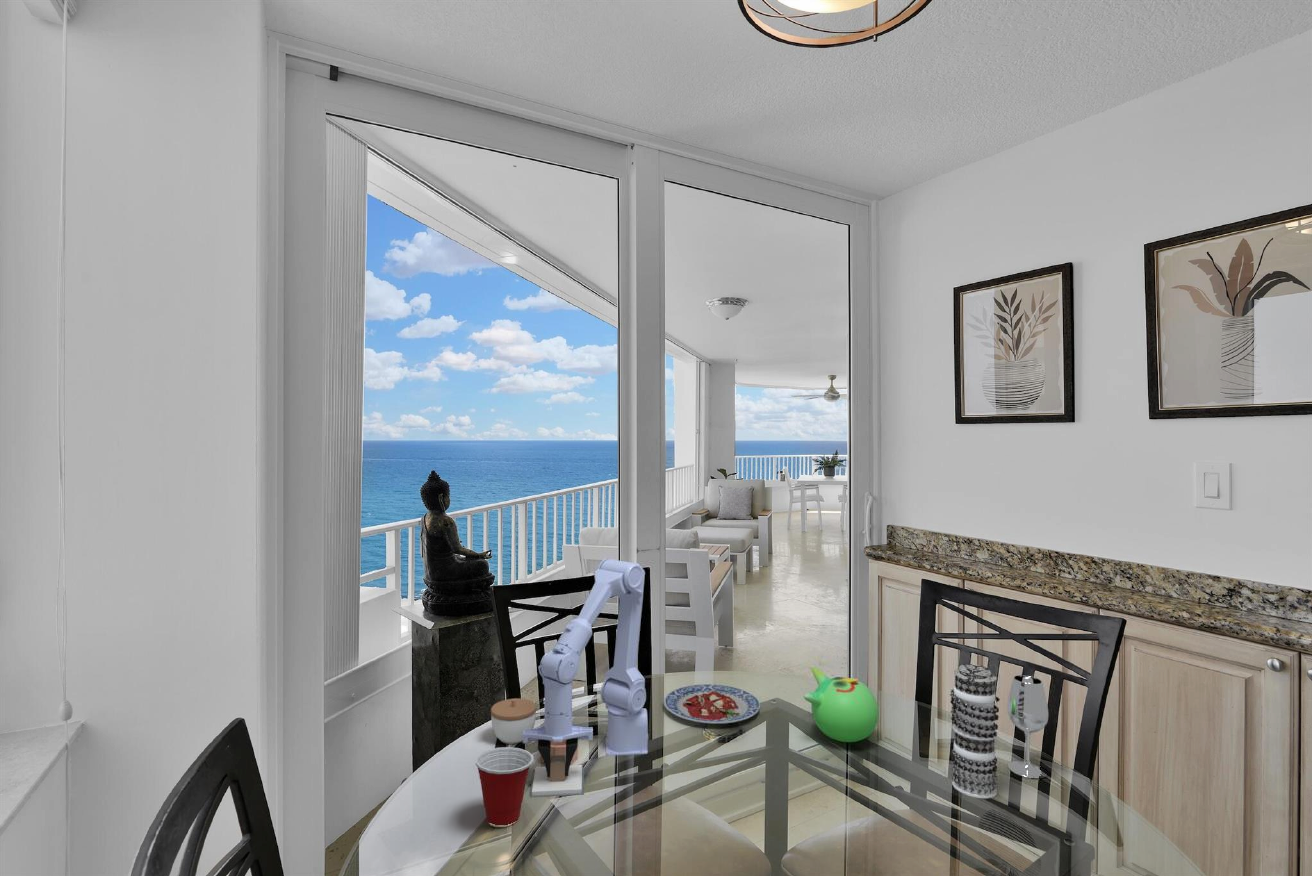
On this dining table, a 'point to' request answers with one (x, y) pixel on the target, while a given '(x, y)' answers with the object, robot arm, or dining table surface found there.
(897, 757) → the dining table surface
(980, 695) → the decorative candle
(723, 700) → the ceramic plate
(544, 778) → the lid
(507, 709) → the lidded jar
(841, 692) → the toy bird
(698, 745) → the dining table surface
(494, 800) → the plastic cup
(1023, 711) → the wineglass
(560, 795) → the mat
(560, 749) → the bowl
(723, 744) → the dining table surface
